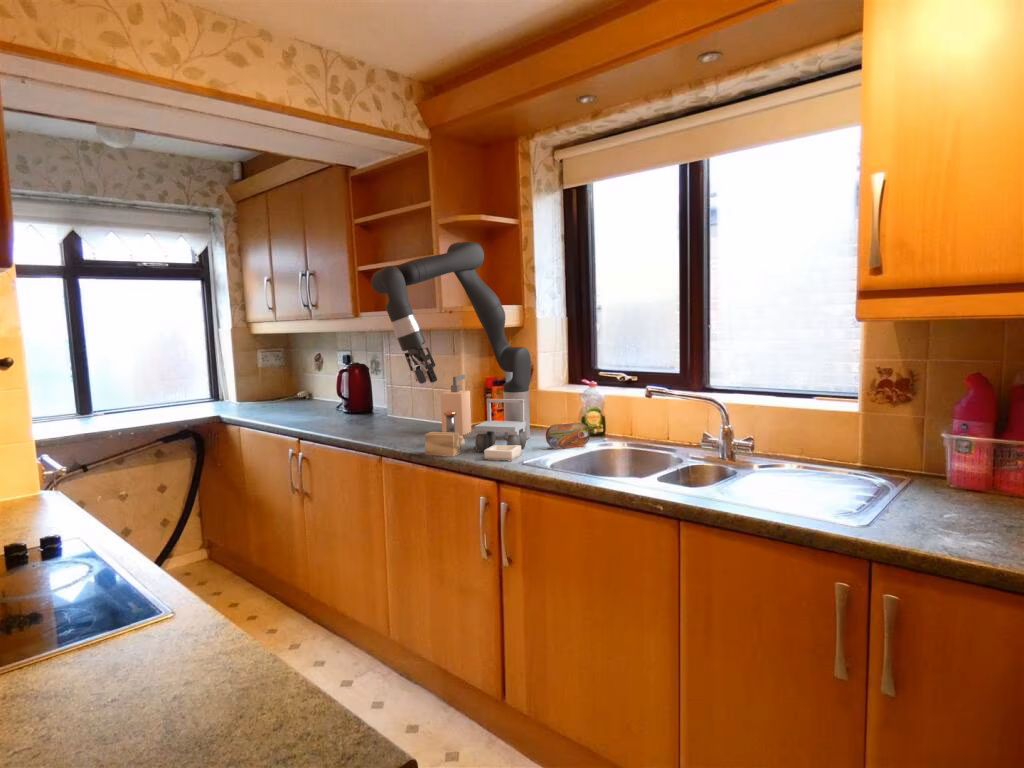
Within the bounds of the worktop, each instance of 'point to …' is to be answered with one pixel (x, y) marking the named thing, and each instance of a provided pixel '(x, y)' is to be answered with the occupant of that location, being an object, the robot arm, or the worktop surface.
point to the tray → (502, 452)
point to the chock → (442, 443)
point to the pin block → (461, 440)
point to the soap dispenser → (457, 407)
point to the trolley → (501, 428)
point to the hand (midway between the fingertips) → (428, 382)
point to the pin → (450, 421)
